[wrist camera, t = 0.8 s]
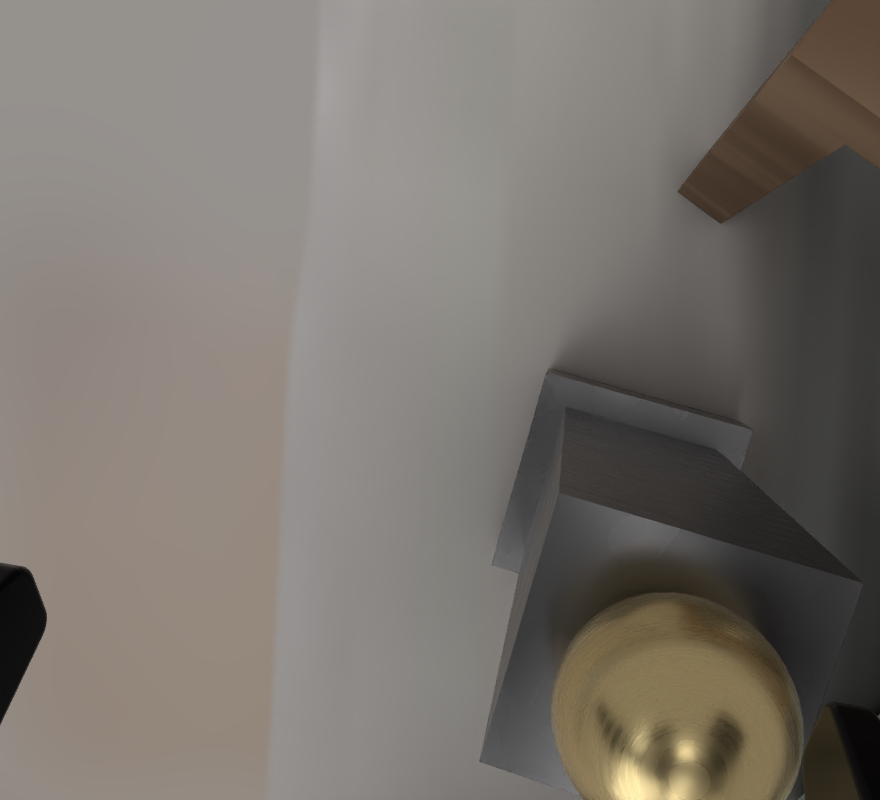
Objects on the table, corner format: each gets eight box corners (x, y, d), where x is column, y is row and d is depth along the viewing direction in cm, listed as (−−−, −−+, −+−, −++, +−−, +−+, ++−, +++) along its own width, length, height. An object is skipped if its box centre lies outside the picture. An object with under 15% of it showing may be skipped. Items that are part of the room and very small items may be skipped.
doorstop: (681, 603, 26) (870, 1105, 9) (497, 546, 27) (375, 918, 10) (739, 421, 25) (1061, 621, 9) (548, 368, 26) (505, 456, 9)
